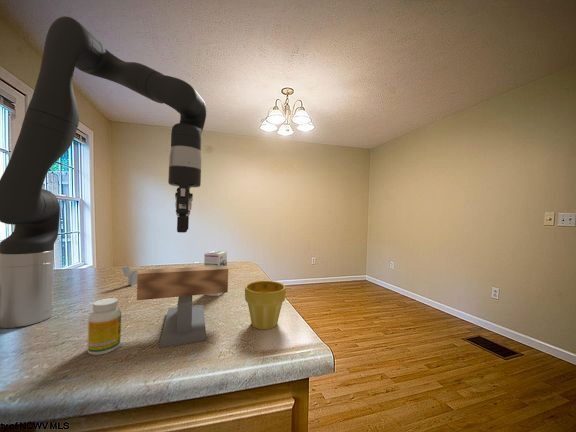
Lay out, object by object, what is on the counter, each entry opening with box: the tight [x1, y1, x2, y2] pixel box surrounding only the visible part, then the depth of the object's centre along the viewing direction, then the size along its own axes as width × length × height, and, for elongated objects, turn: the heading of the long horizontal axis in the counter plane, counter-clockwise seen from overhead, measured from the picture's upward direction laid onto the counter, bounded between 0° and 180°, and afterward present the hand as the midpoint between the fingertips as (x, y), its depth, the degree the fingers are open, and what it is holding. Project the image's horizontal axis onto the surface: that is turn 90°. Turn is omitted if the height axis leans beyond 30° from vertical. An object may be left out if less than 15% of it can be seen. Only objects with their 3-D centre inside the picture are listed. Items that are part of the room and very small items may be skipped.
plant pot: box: [244, 280, 287, 330], centre depth 62 cm, size 10×10×10 cm
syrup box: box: [203, 250, 228, 297], centre depth 85 cm, size 6×6×14 cm
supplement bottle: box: [87, 297, 122, 356], centre depth 49 cm, size 5×5×10 cm
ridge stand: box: [159, 295, 207, 349], centre depth 60 cm, size 9×18×8 cm, turn 21°
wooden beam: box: [136, 266, 229, 301], centre depth 60 cm, size 20×4×6 cm, turn 111°
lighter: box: [120, 264, 140, 287], centre depth 91 cm, size 7×2×8 cm, turn 167°
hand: (183, 231), depth 61 cm, fingers open, 8 cm apart
